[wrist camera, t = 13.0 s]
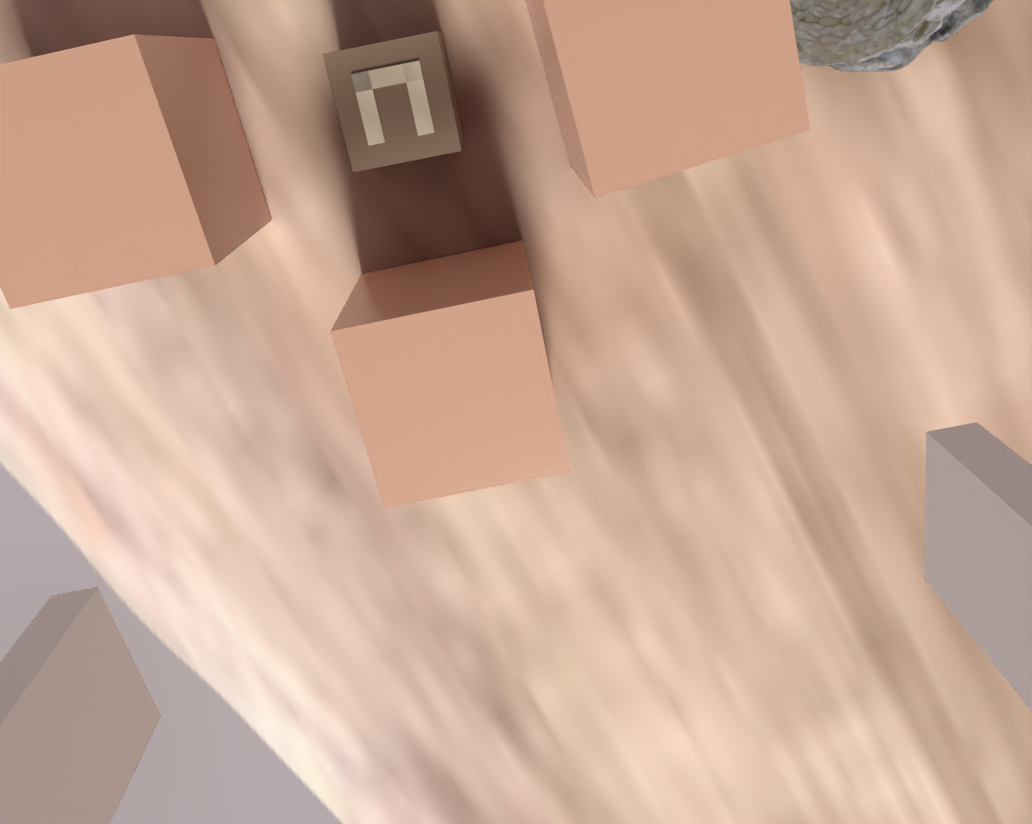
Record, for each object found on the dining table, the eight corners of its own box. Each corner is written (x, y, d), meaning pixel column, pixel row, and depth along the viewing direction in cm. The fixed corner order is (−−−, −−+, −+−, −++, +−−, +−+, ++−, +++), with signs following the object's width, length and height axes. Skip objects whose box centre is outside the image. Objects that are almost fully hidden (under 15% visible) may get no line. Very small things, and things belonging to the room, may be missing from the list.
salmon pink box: (38, 77, 32) (-93, 85, 25) (214, 38, 32) (134, 34, 24) (109, 254, 35) (10, 308, 28) (271, 220, 35) (215, 265, 27)
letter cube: (341, 53, 32) (322, 54, 29) (442, 33, 32) (437, 30, 28) (367, 159, 34) (352, 172, 30) (463, 140, 34) (461, 151, 30)
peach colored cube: (520, -17, 32) (532, -38, 24) (702, -79, 31) (770, -120, 24) (570, 166, 34) (595, 197, 27) (738, 112, 34) (809, 129, 26)
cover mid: (402, 420, 38) (384, 507, 31) (361, 273, 36) (330, 331, 28) (552, 390, 38) (569, 471, 31) (522, 240, 35) (533, 289, 28)
